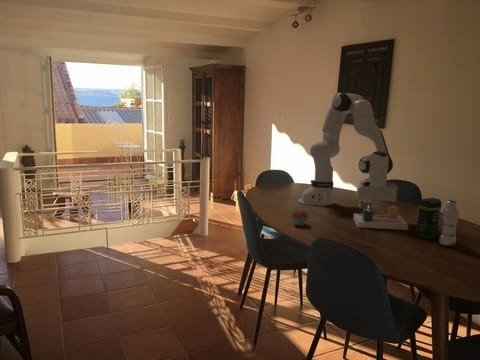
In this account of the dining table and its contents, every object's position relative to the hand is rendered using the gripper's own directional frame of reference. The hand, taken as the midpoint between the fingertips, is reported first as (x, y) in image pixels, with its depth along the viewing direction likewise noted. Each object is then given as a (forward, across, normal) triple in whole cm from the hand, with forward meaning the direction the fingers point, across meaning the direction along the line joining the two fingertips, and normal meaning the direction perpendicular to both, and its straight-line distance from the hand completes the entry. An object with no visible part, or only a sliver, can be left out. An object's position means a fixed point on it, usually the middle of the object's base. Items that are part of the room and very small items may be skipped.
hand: (374, 208), depth 211 cm
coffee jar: (+6, -20, +24) cm, 32 cm away
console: (+7, -2, +6) cm, 9 cm away
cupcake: (+8, +39, +15) cm, 42 cm away
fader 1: (+4, +5, +11) cm, 12 cm away
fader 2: (+3, -9, +1) cm, 10 cm away
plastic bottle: (+6, -25, +35) cm, 43 cm away
